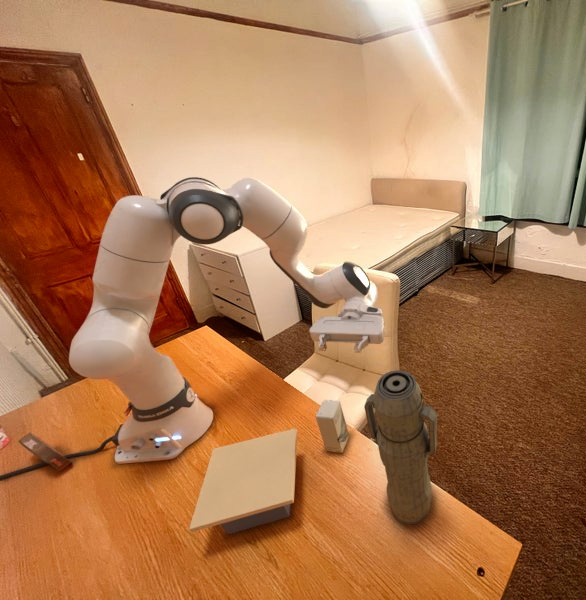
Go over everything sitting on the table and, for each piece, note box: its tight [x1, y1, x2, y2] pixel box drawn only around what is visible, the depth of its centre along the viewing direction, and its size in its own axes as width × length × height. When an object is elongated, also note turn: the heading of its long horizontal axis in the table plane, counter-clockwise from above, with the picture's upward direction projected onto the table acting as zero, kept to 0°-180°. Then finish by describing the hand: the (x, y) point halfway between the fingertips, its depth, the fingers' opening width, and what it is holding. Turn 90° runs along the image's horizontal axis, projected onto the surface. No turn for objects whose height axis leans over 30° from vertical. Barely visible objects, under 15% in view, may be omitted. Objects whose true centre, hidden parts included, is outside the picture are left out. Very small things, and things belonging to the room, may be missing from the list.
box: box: [314, 399, 350, 454], centre depth 74 cm, size 5×4×13 cm
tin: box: [18, 431, 73, 472], centre depth 77 cm, size 15×3×8 cm, turn 65°
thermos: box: [363, 369, 438, 525], centre depth 55 cm, size 9×12×35 cm
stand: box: [188, 427, 298, 535], centre depth 65 cm, size 18×16×9 cm
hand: (339, 350), depth 77 cm, fingers open, 8 cm apart
